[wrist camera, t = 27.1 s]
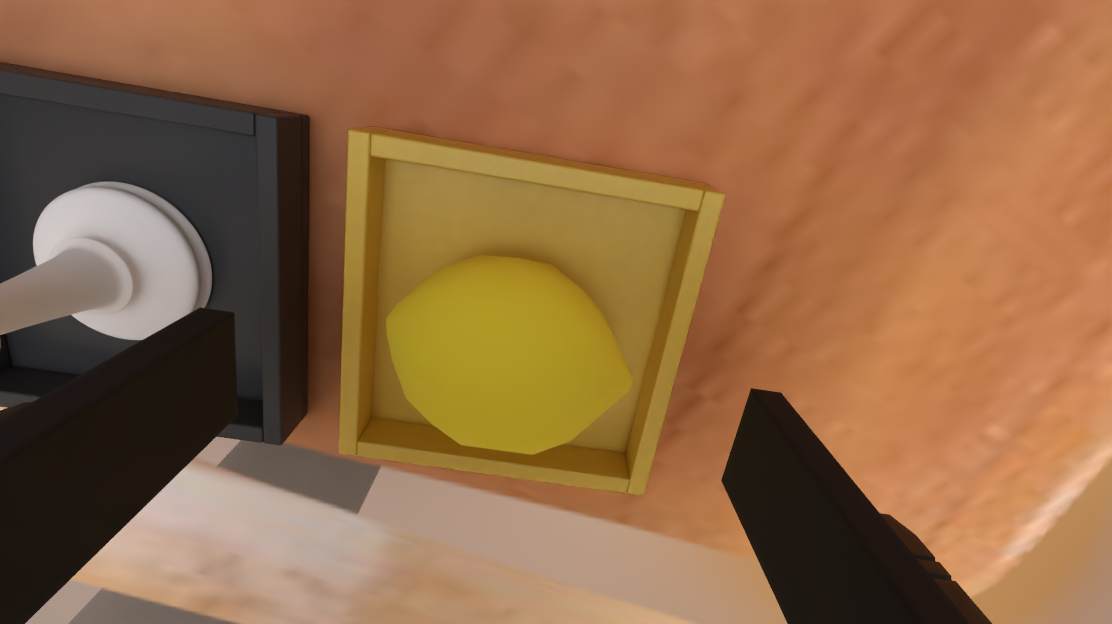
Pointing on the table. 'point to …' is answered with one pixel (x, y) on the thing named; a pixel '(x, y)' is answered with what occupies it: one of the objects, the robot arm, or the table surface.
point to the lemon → (505, 354)
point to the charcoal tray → (191, 187)
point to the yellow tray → (533, 234)
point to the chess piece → (110, 264)
